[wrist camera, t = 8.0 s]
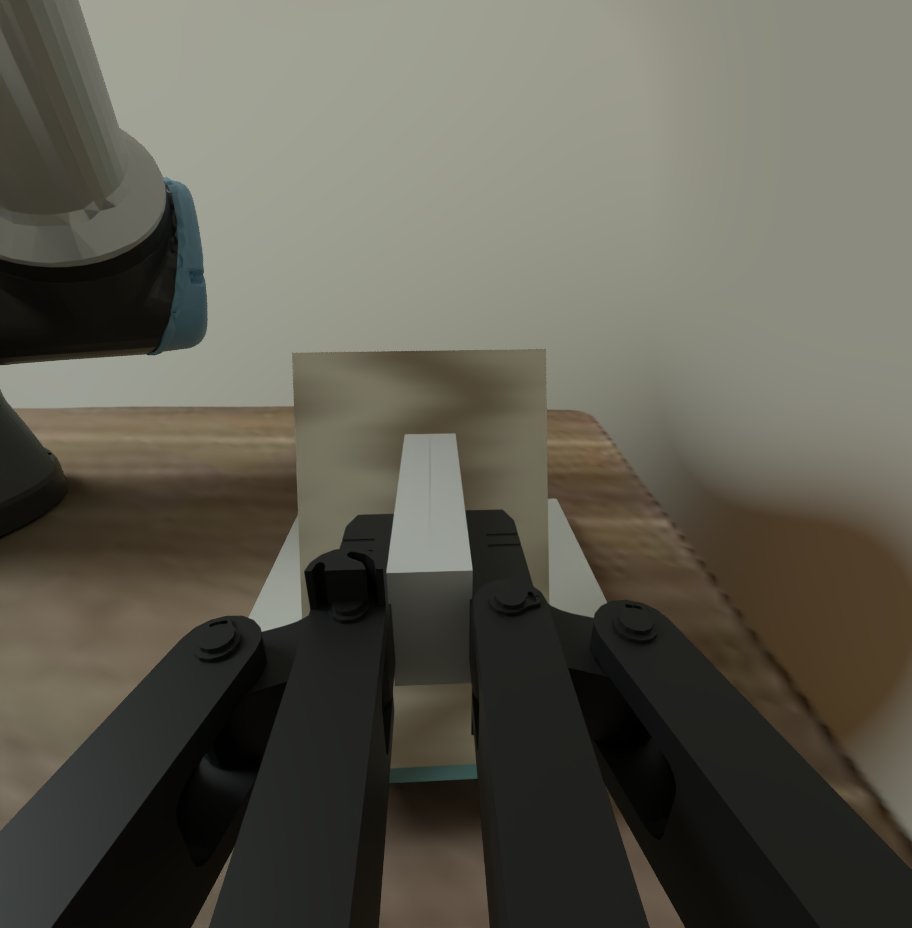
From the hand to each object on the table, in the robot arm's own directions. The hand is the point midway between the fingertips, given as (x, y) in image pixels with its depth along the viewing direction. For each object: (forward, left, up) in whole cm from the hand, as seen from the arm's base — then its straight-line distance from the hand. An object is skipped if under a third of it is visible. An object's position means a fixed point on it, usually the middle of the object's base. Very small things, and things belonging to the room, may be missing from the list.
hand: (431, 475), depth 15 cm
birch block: (0, 0, -11) cm, 11 cm away
